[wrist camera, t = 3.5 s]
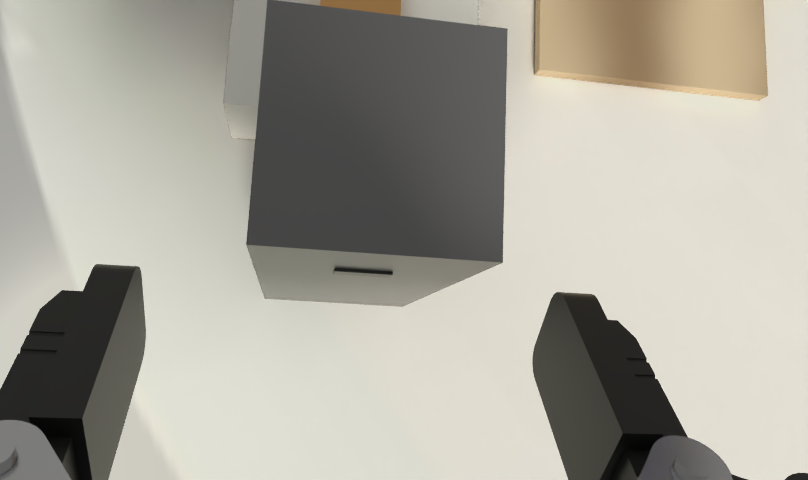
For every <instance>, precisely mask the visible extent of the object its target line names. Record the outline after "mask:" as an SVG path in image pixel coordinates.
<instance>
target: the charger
mask: <svg viewBox="0 0 808 480" xmlns="http://www.w3.org/2000/svg"><path fill="white" fill-rule="evenodd" d="M506 68H507V29H505V28H496V27H488V26H480V25H472V24H464V23H456V22H448V21H440V20H432V19H424V18H416V17H407V16H399V15H391V14H383V13H375V12H367V11H359V10H351V9H343V8H335V7H327V6H319V5H310V4H302V3H294V2H286V1H278V0H267V9H266V21H265V33H264V44H263V56H262V68H261V80H260V91H259V103H258V115H257V127H256V138H255V150H254V162H253V174H252V185H251V197H250V209H249V221H248V232H247V244H246V245H247V248H248V251H249V254H250V257H251V259H252V262H253V265H254V268H255V271H256V274H257V277H258V280H259V283H260V286H261V289H262V292H263V294H264V297H265V299H282V300H299V301H317V302H334V303H351V304H368V305H385V306H405V305H407V304H409V303H412V302H414V301H416V300H418V299H421V298H423V297H425V296H428V295H430V294H432V293H434V292H437V291H439V290H441V289H443V288H446V287H448V286H450V285H453V284H455V283H457V282H459V281H462V280H464V279H466V278H469V277H471V276H473V275H475V274H478V273H480V272H482V271H485V270H487V269H489V268H491V267H494V266H496V265H498V264H501V263H503V215H504V166H505V117H506Z"/></svg>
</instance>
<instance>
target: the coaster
mask: <svg viewBox="0 0 808 480" xmlns="http://www.w3.org/2000/svg"><path fill="white" fill-rule="evenodd" d="M535 75H539V76H548V77H557V78H566V79H574V80H583V81H592V82H601V83H610V84H618V85H627V86H636V87H645V88H654V89H662V90H671V91H680V92H689V93H698V94H706V95H715V96H724V97H733V98H742V99H750V100H761V99H763V98H765V97H767V96H768V87H767V67H766V46H765V26H764V5H763V0H536V12H535Z"/></svg>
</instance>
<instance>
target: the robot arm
mask: <svg viewBox="0 0 808 480" xmlns="http://www.w3.org/2000/svg"><path fill="white" fill-rule="evenodd" d="M145 338H146V327H145V314H144V302H143V289H142V277H141V271H140V268H139V267H137V266H120V265H103V264H96V265H95V266H94V267H93V269H92V271H91V274H90V276H89V278H88V281H87V283H86V285H85V288H84V290H83V291H65V290H62V291H61V292H60V293H59V294H57V295H56V296H55V297H54V298H53V299H52V300H50V301H49V302H48V303H47V304H45V305H44V306H43V307H42V308H41V309H40V311H39V312H38V314H37V317H36V319H35V321H34V323H33V325H32V327H31V329H30V331H29V335H27V337H26V339H25V341H24V343H23V345H22V347H21V351H20V354H18V355H17V357H16V359H15V361H14V363H13V365H12V367H11V369H10V371H9V373H8V375H7V377H6V379H5V381H4V383H3V385H2V387H1V389H0V480H108V478H109V475H110V471H111V467H112V464H113V460H114V457H115V454H116V450H117V447H118V443H119V440H120V436H121V433H122V429H123V426H124V423H125V419H126V416H127V412H128V409H129V405H130V402H131V398H132V395H133V391H134V388H135V385H136V381H137V378H138V374H139V371H140V367H141V364H142V360H143V355H144V349H145ZM533 373H534V377H535V381H536V384H537V387H538V390H539V393H540V396H541V399H542V402H543V405H544V408H545V411H546V414H547V417H548V420H549V423H550V426H551V429H552V432H553V435H554V438H555V441H556V444H557V447H558V450H559V453H560V456H561V459H562V462H563V465H564V468H565V471H566V474H567V477H568V480H747V479H744V478H740V477H737V476H735V475H732V474H731V473H730V471H729V469H728V467H727V466H726V464H725V463H724V461H723V460H722V459H721V458H720V457H719V456H718V455H717V454H716V453H715V452H714V451H712V450H711V449H710V448H708V447H707V446H705V445H704V444H702V443H700V442H698V441H696V440H693V439H691V438H688V437H687V435H686V433H685V431H684V429H683V427H682V425H681V424H680V422H679V420H678V418H677V416H676V414H675V412H674V410H673V408H672V406H671V404H670V403H669V401H668V399H667V397H666V395H665V393H664V391H663V389H662V387H661V385H660V383H659V381H658V380H657V379H655V374H654V372H653V370H652V368H651V366H650V364H649V363H647V362H646V357H645V355H644V353H643V351H642V349H641V347H640V345H639V343H638V341H637V339H636V338H635V337H634V336H633V335H632V334H631V333H630V332H629V331H628V330H627V329H626V328H625V327H623V326H622V325H621V324H620V323H619V322H618V321H616V320H607V318H606V316H605V314H604V312H603V310H602V307H601V305H600V303H599V301H598V299H597V298H596V297H595V296H594V295H592V294H579V293H562V292H557V293H555V294H554V295H553V297H552V299H551V301H550V304H549V307H548V310H547V313H546V316H545V318H544V321H543V324H542V327H541V330H540V333H539V335H538V338H537V341H536V344H535V347H534V352H533ZM785 480H808V474H807V473H797V474H792V475H790V476H788V477H787V478H786V479H785Z"/></svg>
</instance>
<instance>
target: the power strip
mask: <svg viewBox="0 0 808 480" xmlns="http://www.w3.org/2000/svg"><path fill="white" fill-rule="evenodd" d="M278 1H286V2H294V3H302V4H310V5H319V6H327V7H335V8H343V9H351V10H359V11H367V12H375V13H383V14H391V15H399V16H407V17H416V18H424V19H432V20H440V21H448V22H456V23H464V24H472V25H478V0H278ZM266 9H267V0H234V3H233V14H232V22H231V27H230V37H229V48H228V58H227V69H226V80H225V90H224V101H223V104H224V108H225V112H226V117H227V121H228V125H229V129H230V133H231V137H232V138H242V139H253V140H255V138H256V127H257V115H258V103H259V91H260V80H261V68H262V56H263V44H264V33H265V21H266Z"/></svg>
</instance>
